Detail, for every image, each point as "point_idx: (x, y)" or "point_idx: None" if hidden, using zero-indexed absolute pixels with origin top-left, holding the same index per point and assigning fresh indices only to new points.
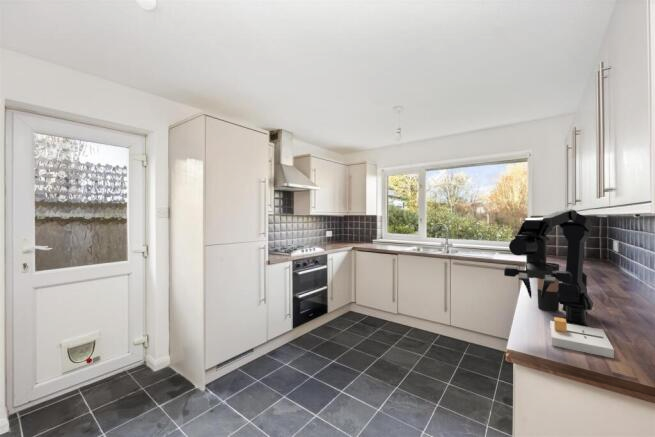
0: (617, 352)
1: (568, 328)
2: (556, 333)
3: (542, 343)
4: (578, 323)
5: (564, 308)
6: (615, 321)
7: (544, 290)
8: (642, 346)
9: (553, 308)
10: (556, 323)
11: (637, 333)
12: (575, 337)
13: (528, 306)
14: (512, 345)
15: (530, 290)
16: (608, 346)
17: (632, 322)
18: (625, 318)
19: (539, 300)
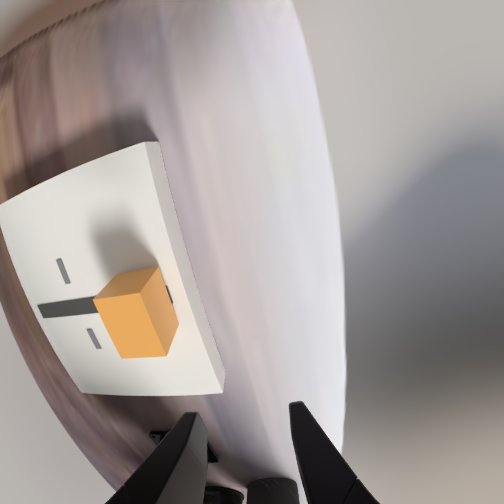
0: None
1: None
2: (143, 228)
3: (194, 130)
4: (166, 434)
5: (236, 496)
6: None
7: (135, 490)
8: (29, 356)
9: (256, 488)
10: (138, 285)
11: (77, 431)
12: (79, 236)
13: None
14: (293, 5)
15: (305, 472)
16: (6, 225)
17: (118, 476)
18: None
19: (294, 501)
